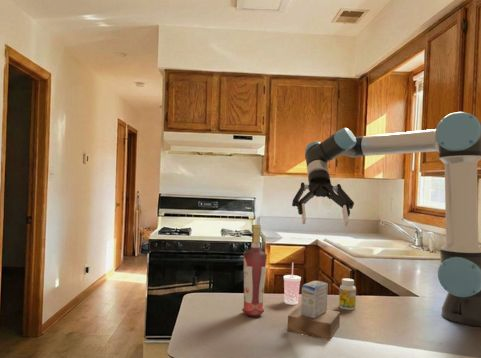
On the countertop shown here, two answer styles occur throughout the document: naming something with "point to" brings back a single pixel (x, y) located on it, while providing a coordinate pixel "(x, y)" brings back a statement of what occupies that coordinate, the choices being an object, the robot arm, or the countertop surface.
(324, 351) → the countertop surface
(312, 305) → the medicine box
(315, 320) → the walnut block
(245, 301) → the liquor
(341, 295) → the supplement bottle
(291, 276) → the beverage cup
